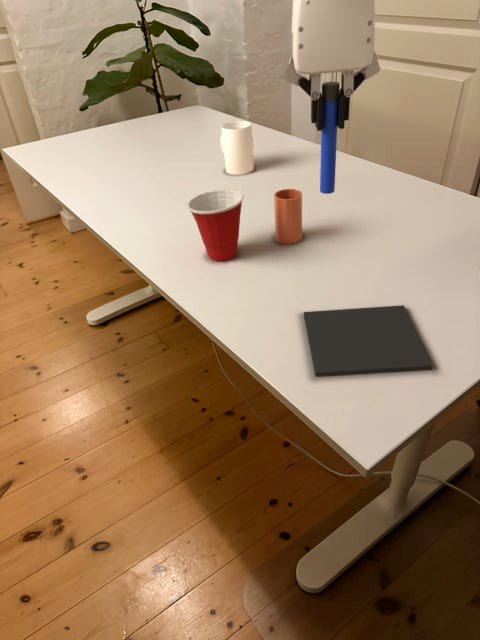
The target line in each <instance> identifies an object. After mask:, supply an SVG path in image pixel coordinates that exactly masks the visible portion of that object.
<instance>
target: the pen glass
mask: <svg viewBox="0 0 480 640" xmlns="http://www.w3.org/2000/svg"><path fill="white" fill-rule="evenodd" d="M273 200H274V201H273V202H274V203H273V204H274V206H273V207H274V229H275V230H274V231H275V240H276V242H278V243H281V244H285V245H290V244H295V243H299V242H300V241H301V240H302V238H303V193H302V191H300V190H299V189H296V188H283V189H280V190H277V191H275V192H274V193H273Z"/></svg>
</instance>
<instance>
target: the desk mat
mask: <svg viewBox="0 0 480 640" xmlns="http://www.w3.org/2000/svg"><path fill="white" fill-rule="evenodd" d="M303 319H304V326H305V330H306V335H307V341H308V345H309V351H310V356H311V362H312V367H313V372H314V376H315V377H330V376H345V375H362V374H363V375H364V374H378V373H379V374H380V373H396V372H411V371H429V370H433V367H434V365H433V363H432V360H431V359H430V356H429V355H428V352H427V350H426V348H425V346H424V344H423V342H422V340H421V338H420V336H419V334H418V332H417V330H416V328H415V326H414V324H413V322H412V319H411V318H410V316H409V314H408V311H407V309H406V308H405V305H389V306H388V305H387V306H374V307H373V306H372V307H358V308H357V307H356V308H345V309H343V308H342V309H330V310H329V309H328V310H314V311H303Z"/></svg>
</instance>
